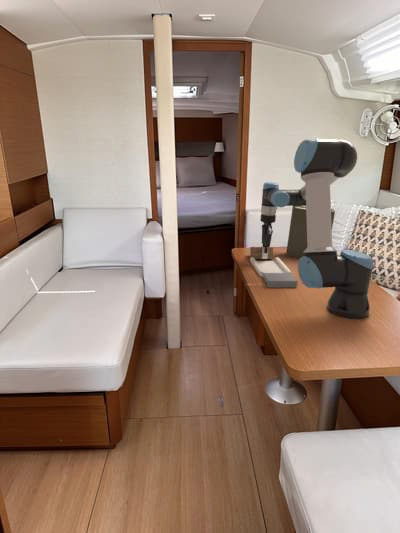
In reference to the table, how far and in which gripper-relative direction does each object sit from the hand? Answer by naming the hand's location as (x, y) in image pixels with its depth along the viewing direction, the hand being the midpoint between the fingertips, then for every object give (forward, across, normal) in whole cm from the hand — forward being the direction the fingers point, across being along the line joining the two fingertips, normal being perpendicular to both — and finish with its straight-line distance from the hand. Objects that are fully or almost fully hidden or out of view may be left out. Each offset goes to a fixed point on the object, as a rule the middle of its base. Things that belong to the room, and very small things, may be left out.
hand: (264, 258), depth 192 cm
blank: (+2, +5, 0) cm, 5 cm away
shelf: (+3, -11, 0) cm, 11 cm away
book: (+3, +10, -27) cm, 29 cm away
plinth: (+3, -28, 0) cm, 28 cm away
